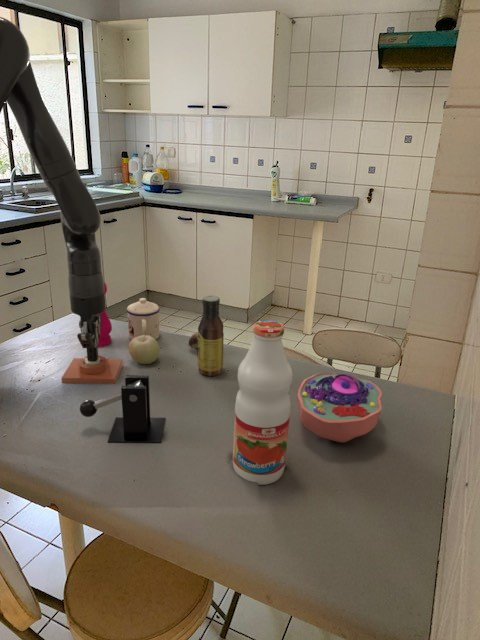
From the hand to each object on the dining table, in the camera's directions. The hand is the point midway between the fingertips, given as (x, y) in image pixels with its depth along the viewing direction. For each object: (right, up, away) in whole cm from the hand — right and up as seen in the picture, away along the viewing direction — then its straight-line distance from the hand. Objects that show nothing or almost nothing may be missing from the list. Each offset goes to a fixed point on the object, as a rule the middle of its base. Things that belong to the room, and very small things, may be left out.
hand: (93, 359), depth 110 cm
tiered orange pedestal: (0, -4, +2) cm, 4 cm away
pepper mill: (-4, +3, +19) cm, 20 cm away
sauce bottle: (+27, -4, +6) cm, 28 cm away
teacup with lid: (+8, +4, +23) cm, 24 cm away
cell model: (+55, -13, -14) cm, 58 cm away
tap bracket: (+15, -13, -19) cm, 27 cm away
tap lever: (+11, -7, -21) cm, 25 cm away
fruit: (+10, -1, +10) cm, 14 cm away
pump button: (0, -2, +1) cm, 2 cm away
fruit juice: (+38, -17, -26) cm, 50 cm away
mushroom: (+25, +1, +17) cm, 30 cm away
